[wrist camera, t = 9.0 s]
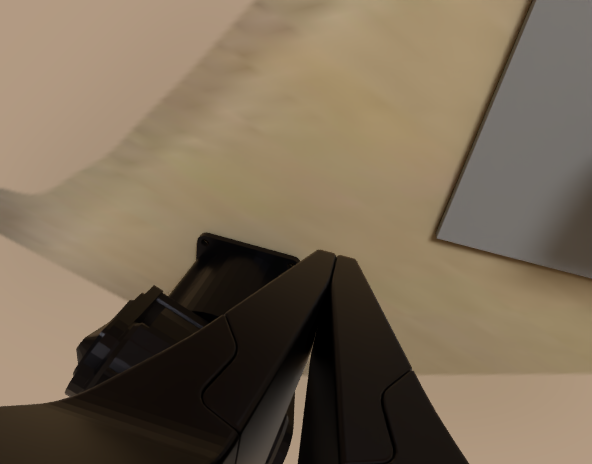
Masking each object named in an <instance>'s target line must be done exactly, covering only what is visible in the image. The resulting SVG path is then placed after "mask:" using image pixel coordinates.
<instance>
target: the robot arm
mask: <svg viewBox="0 0 592 464" xmlns="http://www.w3.org/2000/svg"><path fill="white" fill-rule="evenodd" d="M204 239H206V240H207V241H208V242H209V243H206V242H205V241H204ZM289 263H293V264H294V265H295V266H290V265H289ZM162 292H163V291H162V290H161V289H159V288H158V287H156V286H155V285H154V286H153V287H152V288H151V289H150V290H149V291H148V292H147V293H146V294H144V293H141V294H140V295H139V296H138V297H137V298H136V299H135V300H130V301H129V302H128V303H127V304H126V305H125V306H124V307H123V309H122V310H121V311H120V312H119V313H118V314H117V315H116V316H115V317H114V318H113V319H112V320H111V321H110V322H109V323H107V324H106V325H104V326H103V327H101V328H100V329H98V330H96V331H95V332H93V333H92V334H90V335H88V336H87V337H85V338H84V339H83V341H82V342H81V343H80V344H79V346H78V347H77V349H76V350H77V359H78V366H77V367H76V369H75V371H74V373H73V378H72V380H71V381H70V383H69V385H68V387H67V388H66V391H65V394H66V395H68V396H69V398H66V399H62V400H59V401H54V402H49V403H43V404H32V405H16V406H1V407H0V464H283V462H284V460H285V457H286V455H287V452H288V449H289V446H290V443H291V439H292V435H293V424H294V399H295V389H296V387H297V384H298V382H299V380H300V377H301V375H302V372H303V370H304V368H305V365H306V363H307V360H308V358H309V355H310V352H311V349H312V353H311V359H310V366H309V375H308V383H307V391H306V400H305V408H304V417H303V425H302V433H301V442H300V449H299V458H298V464H469V463H468V461H467V460H466V458H465V457H464V455H463V454H462V452H461V451H460V449H459V448H458V446H457V445H456V443H455V442H454V440H453V438H452V437H451V435H450V434H449V432H448V430H447V429H446V427H445V426H444V424H443V423H442V421H441V419H440V418H439V416H438V414H437V413H436V412H435V410H434V408H433V406H432V404H431V402H430V400H429V399H428V397H427V395H426V393H425V392H424V390H423V388H422V386H421V384H420V382H419V380H418V378H417V376H416V374H415V372H414V371H412V367H411V365H410V363H409V361H408V359H407V357H406V355H405V353H404V352H403V350H402V348H401V346H400V344H399V342H398V340H397V338H396V336H395V334H394V332H393V330H392V328H391V326H390V324H389V322H388V321H387V319H386V317H385V315H384V313H383V311H382V309H381V307H380V305H379V303H378V301H377V299H376V297H375V295H374V293H373V292H372V290H371V288H370V286H369V284H368V282H367V280H366V278H365V276H364V274H363V272H362V270H361V268H360V266H359V264H358V263H357V261H356V260H355V259H353V258H349V257H346V256H342V255H338V256H337V257H336V255H335V254H334V253H331V252H327V251H324V250H317V251H315V252H314V253H312V254H311V255H309V256H308V257H306V258H305V259H303V260H302V261H300V260H299V259H298V258H297V257H294V256H291V255H287V254H284V253H280V252H276V251H273V250H269V249H265V248H262V247H258V246H254V245H251V244H247V243H243V242H240V241H236V240H233V239H229V238H225V237H222V236H218V235H214V234H211V233H202V234H201V235H200V237H199V238H198V240H197V257H196V262H195V263H194V264H193V266H192V267H191V268H190V269H189V271H188V272H187V273H186V274H185V276H184V277H183V278H182V280H181V281H180V282H179V283H178V285H177V286H176V287H175V288H174V290H173V291H172V292H171V294H170V295H169V296H167V295H165V294H163V293H162ZM316 331H317V332H316ZM315 335H316V336H315ZM313 342H314V343H313ZM312 346H313V348H312Z"/></svg>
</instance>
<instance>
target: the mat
mask: <svg viewBox="0 0 592 464" xmlns="http://www.w3.org/2000/svg"><path fill="white" fill-rule="evenodd" d="M436 238H438V239H441V240H445V241H449V242H453V243H457V244H461V245H464V246H468V247H472V248H476V249H480V250H484V251H488V252H491V253H495V254H499V255H503V256H507V257H511V258H515V259H518V260H522V261H526V262H530V263H534V264H538V265H541V266H545V267H549V268H553V269H557V270H561V271H565V272H568V273H572V274H576V275H580V276H584V277H588V278H591V279H592V0H533V1H532V4H531V6H530V8H529V11H528V13H527V16H526V18H525V20H524V23H523V25H522V28H521V30H520V32H519V35H518V37H517V40H516V42H515V44H514V47H513V49H512V52H511V54H510V56H509V59H508V61H507V64H506V66H505V68H504V71H503V73H502V76H501V78H500V80H499V83H498V85H497V88H496V90H495V93H494V95H493V97H492V100H491V102H490V105H489V107H488V109H487V112H486V114H485V117H484V119H483V121H482V124H481V126H480V129H479V131H478V133H477V136H476V138H475V141H474V143H473V145H472V148H471V150H470V153H469V155H468V157H467V160H466V162H465V165H464V167H463V170H462V172H461V174H460V177H459V179H458V182H457V184H456V186H455V189H454V191H453V194H452V196H451V198H450V201H449V203H448V206H447V208H446V210H445V213H444V215H443V218H442V220H441V222H440V225H439V227H438V230H437V232H436Z"/></svg>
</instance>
